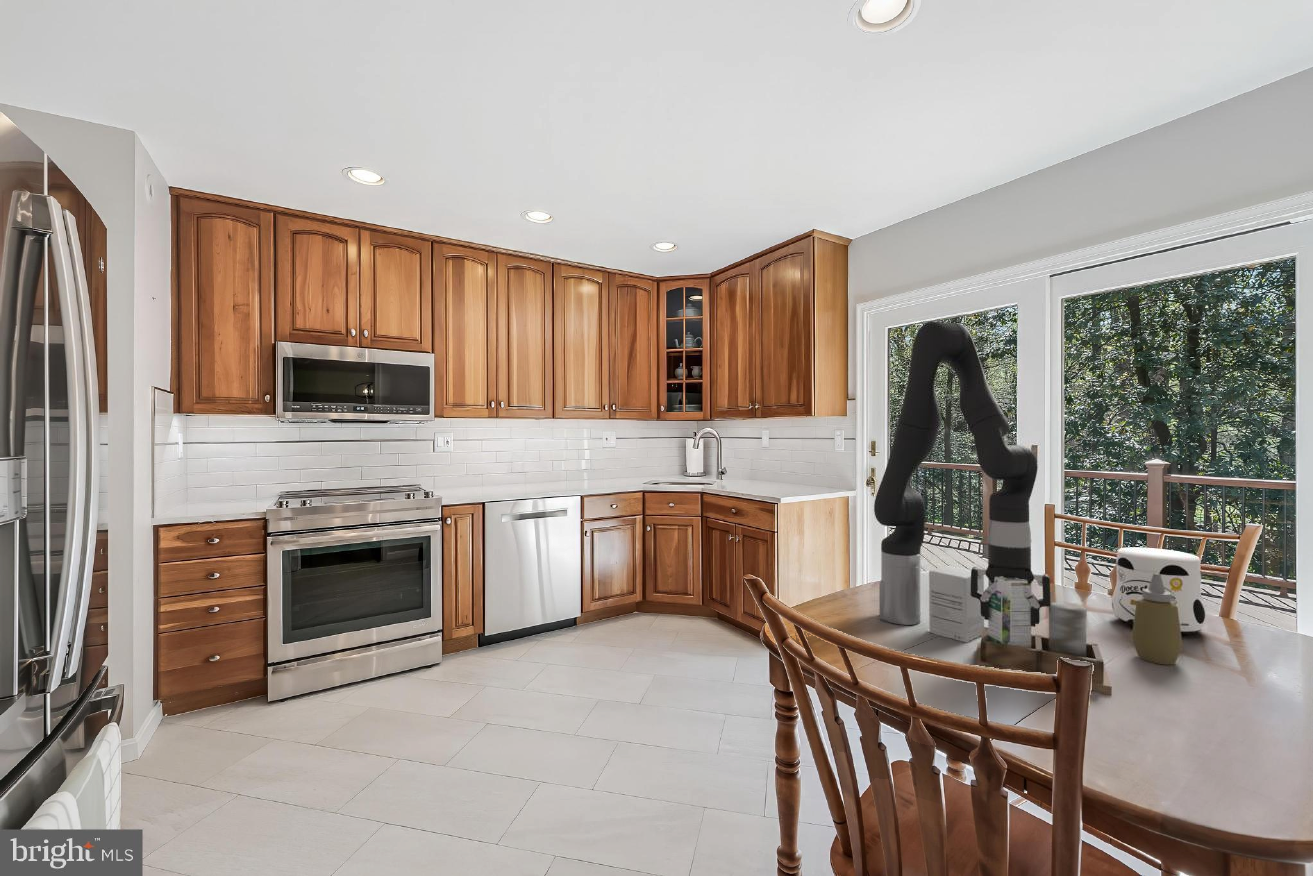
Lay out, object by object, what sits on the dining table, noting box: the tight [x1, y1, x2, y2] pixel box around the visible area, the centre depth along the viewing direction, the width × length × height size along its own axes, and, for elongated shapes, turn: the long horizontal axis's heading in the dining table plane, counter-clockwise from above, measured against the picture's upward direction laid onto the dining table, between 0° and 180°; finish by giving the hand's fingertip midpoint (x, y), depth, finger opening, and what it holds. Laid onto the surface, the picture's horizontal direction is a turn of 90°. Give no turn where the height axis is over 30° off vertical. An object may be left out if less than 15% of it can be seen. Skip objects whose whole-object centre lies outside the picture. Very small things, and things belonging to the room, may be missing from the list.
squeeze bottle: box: [1131, 573, 1184, 665], centre depth 121 cm, size 8×8×18 cm
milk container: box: [1111, 546, 1207, 635], centre depth 141 cm, size 17×17×18 cm
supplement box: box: [928, 565, 985, 643], centre depth 138 cm, size 9×9×15 cm
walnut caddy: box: [973, 602, 1113, 696], centre depth 117 cm, size 22×12×14 cm, turn 58°
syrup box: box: [987, 577, 1032, 648], centre depth 119 cm, size 6×6×14 cm
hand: (1009, 622), depth 119 cm, fingers closed on syrup box, 7 cm apart
